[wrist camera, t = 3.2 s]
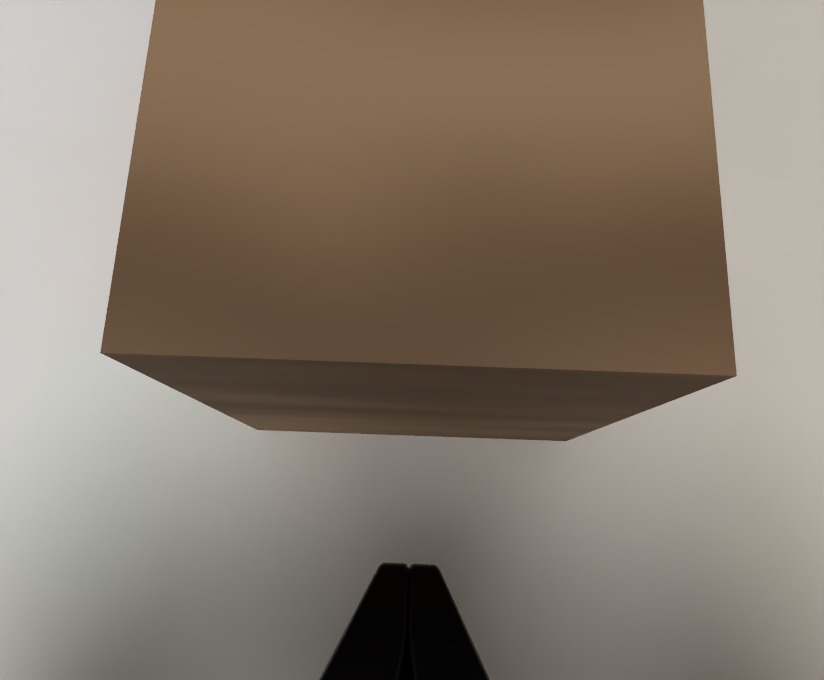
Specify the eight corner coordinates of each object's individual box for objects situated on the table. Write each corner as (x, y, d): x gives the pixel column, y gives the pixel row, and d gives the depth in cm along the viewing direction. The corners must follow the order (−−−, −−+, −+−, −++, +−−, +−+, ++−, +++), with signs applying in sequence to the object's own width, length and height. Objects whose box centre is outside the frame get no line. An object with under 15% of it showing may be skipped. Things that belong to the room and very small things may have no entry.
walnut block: (564, 441, 17) (736, 375, 8) (258, 430, 17) (100, 352, 8) (554, -8, 20) (667, -394, 12) (300, -18, 20) (220, -411, 12)
